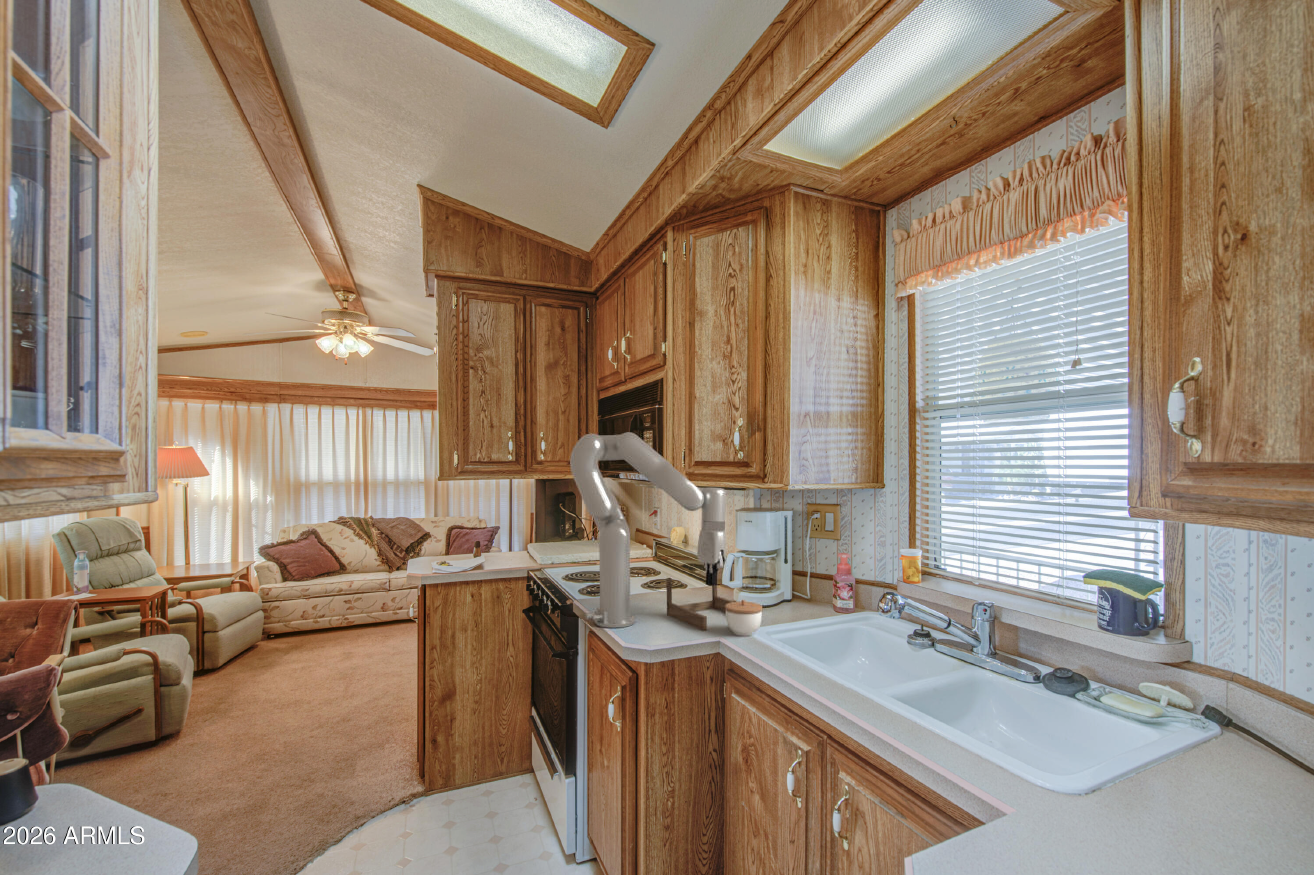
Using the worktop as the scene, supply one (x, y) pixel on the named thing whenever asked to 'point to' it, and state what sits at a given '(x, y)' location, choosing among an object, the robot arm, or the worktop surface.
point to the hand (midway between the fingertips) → (711, 584)
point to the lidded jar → (743, 617)
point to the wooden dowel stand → (694, 608)
